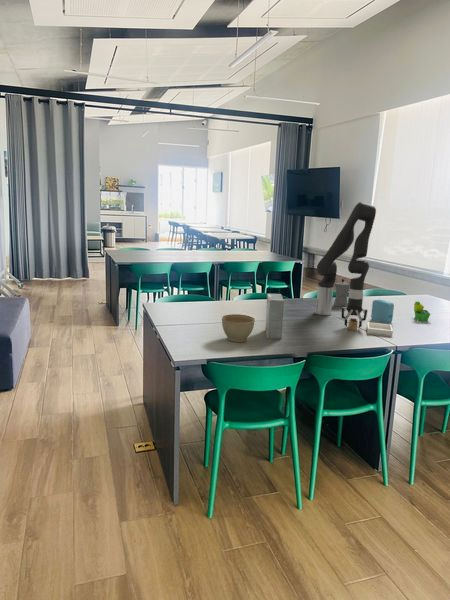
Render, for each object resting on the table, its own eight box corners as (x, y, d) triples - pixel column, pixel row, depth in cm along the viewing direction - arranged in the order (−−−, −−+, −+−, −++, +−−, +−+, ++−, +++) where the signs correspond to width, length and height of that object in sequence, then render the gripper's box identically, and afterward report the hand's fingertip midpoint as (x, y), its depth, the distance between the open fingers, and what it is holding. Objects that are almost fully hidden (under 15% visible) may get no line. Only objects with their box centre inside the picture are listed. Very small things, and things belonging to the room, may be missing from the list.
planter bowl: (229, 346, 215) (230, 323, 212) (216, 336, 229) (216, 315, 227) (259, 342, 221) (260, 321, 219) (244, 333, 235) (245, 313, 233)
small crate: (348, 330, 249) (348, 321, 248) (348, 326, 256) (349, 317, 255) (356, 331, 248) (357, 322, 246) (356, 327, 255) (357, 318, 254)
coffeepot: (337, 307, 302) (339, 280, 298) (328, 304, 310) (330, 278, 307) (355, 306, 309) (358, 279, 305) (346, 303, 317) (348, 277, 313)
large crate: (367, 333, 243) (367, 328, 242) (366, 327, 256) (367, 322, 255) (392, 336, 240) (392, 331, 239) (390, 329, 252) (391, 324, 252)
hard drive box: (265, 329, 244) (267, 293, 240) (279, 330, 244) (281, 293, 239) (266, 338, 229) (269, 299, 224) (282, 339, 228) (284, 300, 224)
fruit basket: (429, 322, 272) (432, 304, 269) (414, 321, 274) (416, 302, 271) (425, 317, 283) (428, 300, 280) (410, 316, 284) (412, 299, 282)
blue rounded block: (392, 323, 267) (394, 303, 265) (387, 324, 265) (389, 303, 262) (375, 318, 277) (377, 299, 275) (370, 319, 275) (372, 299, 272)
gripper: (369, 297, 250) (366, 326, 253) (342, 294, 254) (339, 323, 257) (369, 299, 243) (366, 330, 246) (341, 297, 247) (339, 327, 250)
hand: (352, 326), depth 252 cm, fingers open, 6 cm apart
